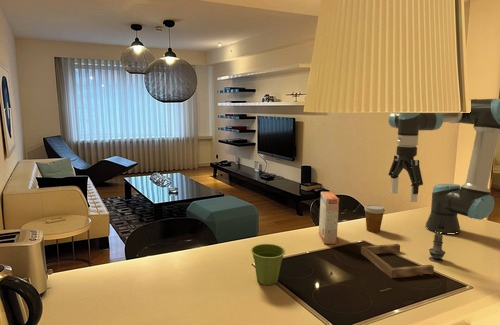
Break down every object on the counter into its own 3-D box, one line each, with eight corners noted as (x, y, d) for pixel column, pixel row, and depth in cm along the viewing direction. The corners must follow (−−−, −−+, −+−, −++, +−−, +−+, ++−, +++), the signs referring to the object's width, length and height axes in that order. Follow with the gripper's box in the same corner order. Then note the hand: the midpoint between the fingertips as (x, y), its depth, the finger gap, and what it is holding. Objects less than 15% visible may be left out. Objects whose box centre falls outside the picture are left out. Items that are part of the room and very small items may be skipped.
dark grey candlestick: (446, 263, 141) (449, 234, 139) (430, 262, 142) (433, 233, 140) (441, 257, 147) (444, 229, 145) (426, 256, 148) (428, 228, 146)
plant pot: (254, 290, 119) (254, 258, 117) (247, 274, 130) (248, 244, 129) (288, 287, 121) (289, 255, 119) (279, 271, 133) (279, 242, 131)
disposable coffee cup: (380, 227, 182) (382, 204, 180) (385, 234, 173) (387, 209, 171) (361, 226, 183) (362, 203, 181) (365, 233, 174) (366, 209, 172)
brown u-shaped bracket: (397, 250, 153) (398, 243, 153) (433, 274, 132) (433, 266, 131) (360, 253, 150) (361, 246, 149) (391, 278, 128) (391, 270, 128)
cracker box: (337, 244, 159) (339, 198, 156) (323, 244, 159) (325, 198, 156) (331, 233, 173) (333, 191, 169) (318, 233, 173) (320, 191, 170)
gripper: (382, 142, 156) (379, 190, 159) (417, 149, 131) (413, 206, 135) (398, 142, 157) (394, 189, 160) (436, 149, 132) (431, 205, 136)
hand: (403, 197), depth 147 cm, fingers open, 13 cm apart
